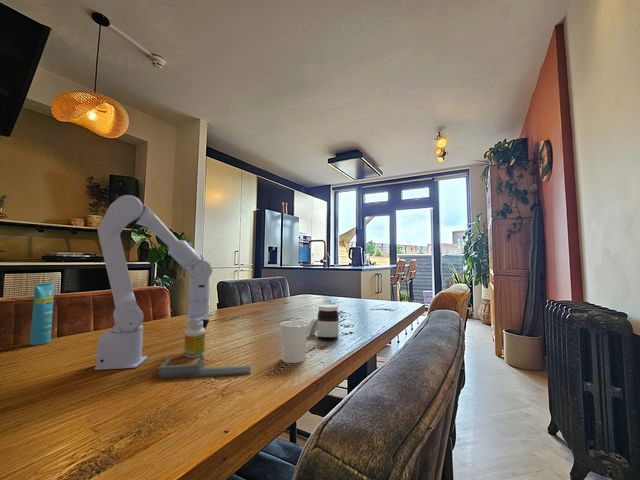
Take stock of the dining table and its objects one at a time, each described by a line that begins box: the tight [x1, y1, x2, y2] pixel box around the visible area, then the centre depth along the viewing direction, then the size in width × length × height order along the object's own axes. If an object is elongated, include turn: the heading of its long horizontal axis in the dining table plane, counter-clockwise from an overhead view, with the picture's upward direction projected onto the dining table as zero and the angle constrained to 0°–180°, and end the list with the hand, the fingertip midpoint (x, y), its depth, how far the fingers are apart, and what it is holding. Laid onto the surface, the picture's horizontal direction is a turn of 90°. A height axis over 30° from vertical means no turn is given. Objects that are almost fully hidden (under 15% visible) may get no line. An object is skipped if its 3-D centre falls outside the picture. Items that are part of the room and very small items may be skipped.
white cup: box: [279, 320, 309, 364], centre depth 84 cm, size 8×8×10 cm
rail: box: [157, 356, 252, 379], centre depth 74 cm, size 21×6×2 cm, turn 101°
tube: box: [29, 281, 55, 346], centre depth 95 cm, size 7×5×19 cm, turn 13°
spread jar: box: [307, 303, 340, 342], centre depth 107 cm, size 12×11×12 cm
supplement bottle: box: [183, 319, 206, 359], centre depth 86 cm, size 5×5×10 cm
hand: (198, 345), depth 89 cm, fingers closed, pressing on supplement bottle
